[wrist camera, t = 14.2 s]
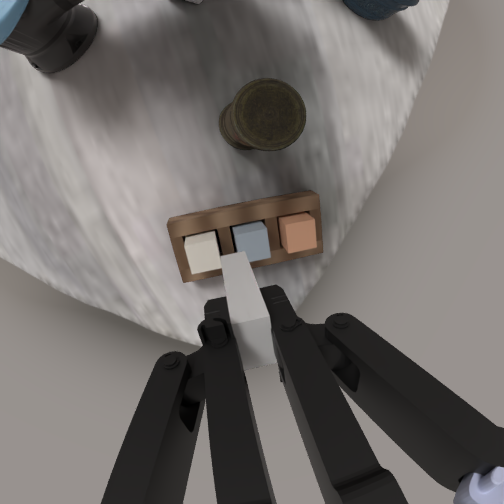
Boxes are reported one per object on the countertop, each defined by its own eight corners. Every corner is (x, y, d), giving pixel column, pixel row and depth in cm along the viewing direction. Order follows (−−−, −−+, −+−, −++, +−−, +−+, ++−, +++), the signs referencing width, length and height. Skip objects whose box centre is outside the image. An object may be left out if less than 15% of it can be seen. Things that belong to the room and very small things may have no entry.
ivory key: (192, 259, 49) (191, 274, 43) (186, 233, 47) (184, 245, 41) (220, 253, 49) (222, 268, 44) (214, 227, 47) (215, 239, 42)
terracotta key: (279, 240, 50) (288, 253, 45) (275, 215, 48) (285, 224, 43) (304, 235, 51) (316, 247, 45) (302, 210, 49) (314, 219, 43)
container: (210, 111, 41) (214, 92, 24) (259, 92, 41) (291, 66, 24) (231, 158, 45) (248, 166, 28) (279, 138, 44) (321, 137, 28)
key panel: (184, 272, 51) (183, 283, 47) (169, 218, 47) (166, 224, 43) (315, 244, 53) (323, 252, 50) (310, 190, 49) (319, 194, 45)
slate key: (236, 250, 49) (240, 264, 44) (231, 223, 47) (235, 235, 42) (263, 244, 50) (270, 257, 44) (259, 218, 48) (266, 228, 42)
